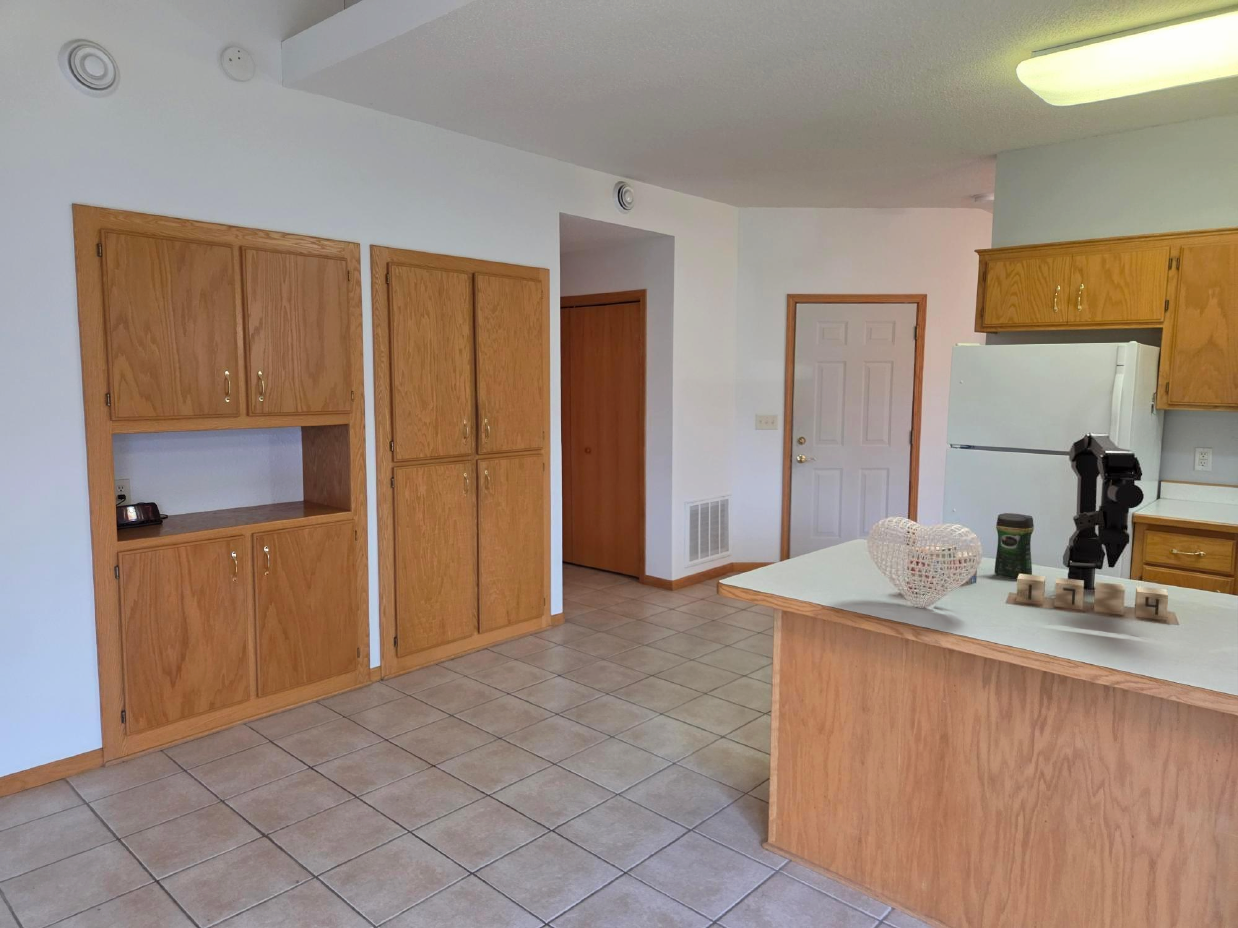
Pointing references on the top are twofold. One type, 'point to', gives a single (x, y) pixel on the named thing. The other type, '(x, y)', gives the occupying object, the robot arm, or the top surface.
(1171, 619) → the walnut mat
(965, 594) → the top surface
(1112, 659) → the top surface
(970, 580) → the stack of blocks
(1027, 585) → the block one
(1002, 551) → the coffee jar
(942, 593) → the heart
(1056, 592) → the block seven
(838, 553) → the top surface
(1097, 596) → the plain block
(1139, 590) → the block four
